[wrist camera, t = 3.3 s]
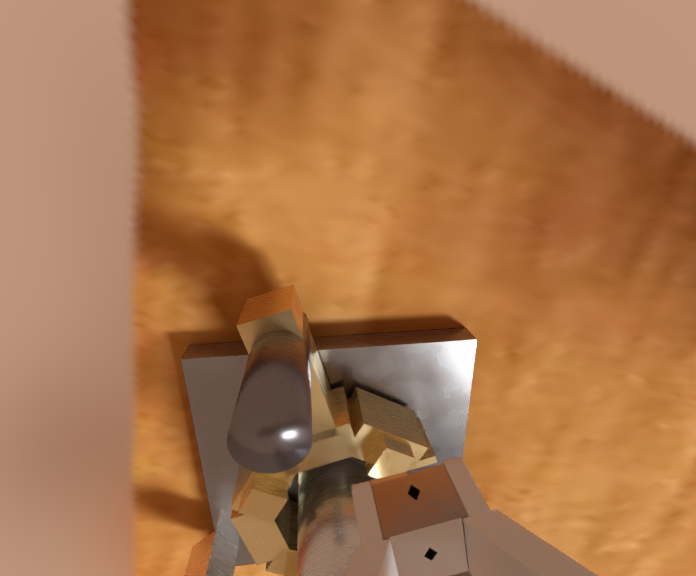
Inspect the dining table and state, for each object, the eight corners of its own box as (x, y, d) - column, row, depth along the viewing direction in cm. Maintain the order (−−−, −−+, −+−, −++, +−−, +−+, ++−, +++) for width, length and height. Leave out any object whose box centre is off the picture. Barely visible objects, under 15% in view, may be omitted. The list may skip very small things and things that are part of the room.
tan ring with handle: (441, 502, 25) (500, 656, 17) (282, 551, 24) (272, 727, 17) (377, 259, 18) (428, 334, 11) (162, 324, 18) (63, 445, 11)
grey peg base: (466, 327, 22) (593, 467, 12) (445, 520, 28) (522, 721, 18) (161, 347, 20) (30, 526, 11) (204, 547, 26) (144, 786, 16)
